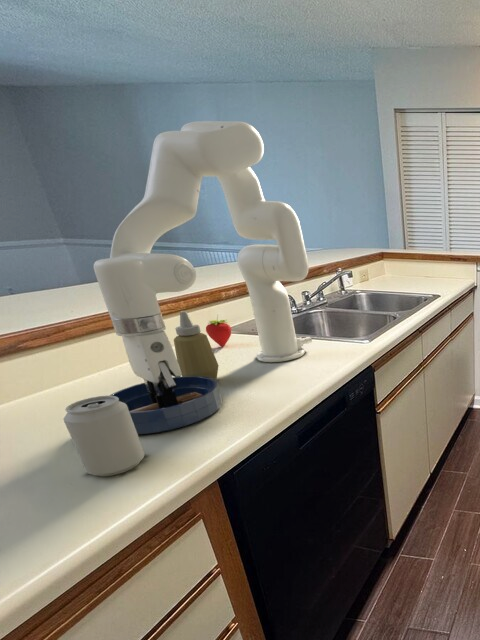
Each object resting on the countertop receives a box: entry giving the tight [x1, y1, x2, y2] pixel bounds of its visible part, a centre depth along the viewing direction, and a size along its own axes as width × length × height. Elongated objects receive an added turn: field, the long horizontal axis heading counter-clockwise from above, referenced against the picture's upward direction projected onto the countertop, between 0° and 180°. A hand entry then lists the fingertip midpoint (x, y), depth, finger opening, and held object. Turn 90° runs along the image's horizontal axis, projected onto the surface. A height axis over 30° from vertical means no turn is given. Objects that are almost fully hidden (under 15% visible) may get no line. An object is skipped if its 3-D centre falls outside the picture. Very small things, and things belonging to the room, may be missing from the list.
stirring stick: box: [129, 392, 202, 412], centre depth 88 cm, size 14×3×2 cm, turn 150°
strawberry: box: [205, 315, 232, 347], centre depth 131 cm, size 6×8×10 cm
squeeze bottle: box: [173, 310, 220, 382], centre depth 102 cm, size 8×8×18 cm
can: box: [62, 395, 146, 477], centre depth 69 cm, size 8×8×12 cm
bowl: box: [108, 375, 223, 435], centre depth 88 cm, size 19×19×5 cm
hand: (166, 408), depth 89 cm, fingers closed on stirring stick, 2 cm apart
